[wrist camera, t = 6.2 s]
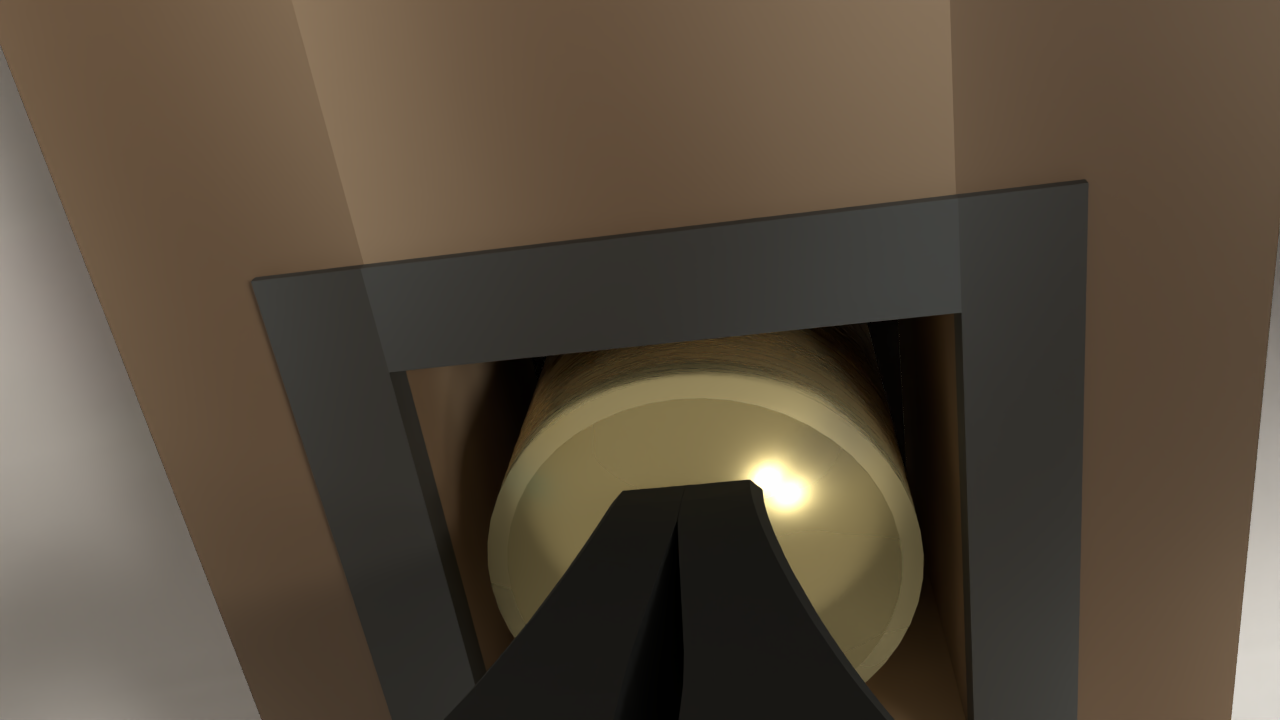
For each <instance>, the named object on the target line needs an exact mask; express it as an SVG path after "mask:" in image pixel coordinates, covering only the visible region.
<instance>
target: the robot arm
mask: <svg viewBox="0 0 1280 720" xmlns="http://www.w3.org/2000/svg"><path fill="white" fill-rule="evenodd" d="M443 720H894V718H893V717H892V716H891V715H890V714H889V712H888V711H887V710H886V709H885V708H884V706H883V705H882V704H881V703H880V701H879V700H878V699H877V698H876V696H875V695H874V694H873V693H872V691H871V690H870V689H869V687H868V686H867V685H866V683H865V682H864V681H863V679H862V678H861V677H860V675H859V674H858V673H857V671H856V670H855V669H854V667H853V666H852V664H851V663H850V662H849V660H848V659H847V657H846V656H845V654H844V653H843V652H842V650H841V649H840V647H839V646H838V644H837V643H836V642H835V640H834V639H833V637H832V636H831V634H830V633H829V631H828V630H827V628H826V626H825V625H824V623H823V622H822V620H821V619H820V617H819V616H818V614H817V612H816V611H815V609H814V607H813V606H812V604H811V602H810V600H809V599H808V597H807V595H806V593H805V592H804V590H803V588H802V586H801V585H800V583H799V581H798V579H797V578H796V576H795V574H794V573H793V571H792V569H791V567H790V565H789V563H788V561H787V559H786V557H785V555H784V553H783V551H782V548H781V546H780V544H779V542H778V539H777V537H776V535H775V533H774V530H773V528H772V525H771V522H770V520H769V517H768V514H767V511H766V507H765V503H764V496H763V489H762V488H760V487H759V486H758V485H757V484H755V483H754V482H753V481H751V480H750V479H748V480H737V481H726V482H715V483H705V484H694V485H686V486H685V485H682V486H671V487H659V488H648V489H637V490H624V491H622V492H621V493H620V494H619V495H618V497H617V498H616V499H615V500H614V501H613V502H612V504H611V505H610V507H609V508H608V510H607V511H606V513H605V515H604V516H603V518H602V519H601V521H600V522H599V524H598V525H597V527H596V528H595V530H594V531H593V533H592V534H591V536H590V537H589V539H588V540H587V542H586V543H585V545H584V546H583V547H582V549H581V550H580V552H579V553H578V555H577V556H576V558H575V559H574V560H573V562H572V563H571V565H570V566H569V568H568V569H567V570H566V572H565V573H564V575H563V576H562V577H561V579H560V580H559V581H558V583H557V584H556V585H555V587H554V588H553V589H552V591H551V592H550V593H549V595H548V596H547V597H546V599H545V600H544V601H543V603H542V604H541V605H540V607H539V608H538V610H537V611H536V612H535V614H534V615H533V616H532V618H531V619H530V620H529V621H528V623H527V624H526V625H525V626H524V628H523V629H522V630H521V632H520V633H519V634H518V635H517V636H516V637H515V639H514V640H513V641H512V642H511V643H510V645H509V646H508V647H507V648H506V649H505V651H504V652H503V653H502V654H501V655H500V656H499V658H498V659H497V660H496V661H495V662H494V664H493V665H492V666H491V667H490V668H489V669H488V671H487V672H486V673H485V674H484V675H483V677H482V678H481V679H480V680H479V681H478V682H477V684H476V685H475V686H474V687H473V688H472V689H471V690H470V691H469V693H468V694H467V695H466V696H465V697H464V698H463V699H462V700H461V701H460V702H459V703H458V704H457V705H456V707H455V708H454V709H453V710H452V711H451V712H450V713H449V714H448V715H447V716H446V717H445V718H444V719H443Z"/></svg>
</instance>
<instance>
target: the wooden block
mask: <svg viewBox="0 0 1280 720" xmlns="http://www.w3.org/2000/svg"><path fill="white" fill-rule="evenodd" d="M0 45H1V47H2V50H3V53H4V55H5V58H6V60H7V63H8V66H9V68H10V71H11V73H12V76H13V78H14V81H15V84H16V86H17V89H18V91H19V94H20V97H21V99H22V102H23V104H24V107H25V109H26V112H27V115H28V117H29V120H30V122H31V125H32V128H33V130H34V133H35V135H36V138H37V140H38V143H39V146H40V148H41V151H42V153H43V156H44V159H45V161H46V164H47V166H48V169H49V171H50V174H51V177H52V179H53V182H54V184H55V187H56V190H57V192H58V195H59V197H60V200H61V202H62V205H63V208H64V210H65V213H66V215H67V218H68V221H69V223H70V226H71V228H72V231H73V233H74V236H75V239H76V241H77V244H78V246H79V249H80V252H81V254H82V257H83V259H84V262H85V264H86V267H87V270H88V272H89V275H90V277H91V280H92V283H93V285H94V288H95V290H96V293H97V295H98V298H99V301H100V303H101V306H102V308H103V311H104V314H105V316H106V319H107V321H108V324H109V326H110V329H111V332H112V334H113V337H114V339H115V342H116V345H117V347H118V350H119V352H120V355H121V357H122V360H123V363H124V365H125V368H126V370H127V373H128V376H129V378H130V381H131V383H132V386H133V388H134V391H135V394H136V396H137V399H138V401H139V404H140V407H141V409H142V412H143V414H144V417H145V419H146V422H147V425H148V427H149V430H150V432H151V435H152V438H153V440H154V443H155V445H156V448H157V450H158V453H159V456H160V458H161V461H162V463H163V466H164V469H165V471H166V474H167V476H168V479H169V481H170V484H171V487H172V489H173V492H174V494H175V497H176V500H177V502H178V505H179V507H180V510H181V512H182V515H183V518H184V520H185V523H186V525H187V528H188V531H189V533H190V536H191V538H192V541H193V543H194V546H195V549H196V551H197V554H198V556H199V559H200V562H201V564H202V567H203V569H204V572H205V574H206V577H207V580H208V582H209V585H210V587H211V590H212V593H213V595H214V598H215V600H216V603H217V605H218V608H219V611H220V613H221V616H222V618H223V621H224V624H225V626H226V629H227V631H228V634H229V636H230V639H231V642H232V644H233V647H234V649H235V652H236V655H237V657H238V660H239V662H240V665H241V667H242V670H243V673H244V675H245V678H246V680H247V683H248V686H249V688H250V691H251V693H252V696H253V698H254V701H255V704H256V706H257V709H258V711H259V714H260V717H261V719H262V720H443V719H444V718H445V717H446V716H447V715H448V714H449V713H450V712H451V711H452V710H453V709H454V708H455V707H456V705H457V704H458V703H459V702H460V701H461V700H462V699H463V698H464V697H465V696H466V695H467V694H468V693H469V691H470V690H471V689H472V688H473V687H474V686H475V685H476V684H477V682H478V681H479V680H480V679H481V678H482V677H483V675H484V674H485V673H486V672H487V671H488V669H489V668H490V667H491V666H492V665H493V664H494V662H495V661H496V660H497V659H498V658H499V656H500V655H501V654H502V653H503V652H504V651H505V649H506V648H507V647H508V646H509V645H510V643H511V642H512V641H513V640H514V639H515V638H514V636H513V635H512V633H511V632H510V630H509V628H508V626H507V624H506V622H505V620H504V618H503V616H502V614H501V612H500V610H499V608H498V605H497V602H496V599H495V596H494V593H493V590H492V586H491V580H490V575H489V569H488V544H487V542H488V535H489V528H490V521H491V517H492V514H493V510H494V507H495V504H496V501H497V497H498V494H499V492H500V489H501V486H502V483H503V480H504V477H505V474H506V471H507V469H508V466H509V463H510V460H511V457H512V454H513V451H514V448H515V446H516V443H517V440H518V437H519V434H520V431H521V428H522V425H523V423H524V420H525V417H526V414H527V411H528V408H529V405H530V403H531V400H532V397H533V394H534V391H535V388H536V385H537V378H536V374H535V369H534V364H533V360H532V357H541V356H550V355H560V354H569V353H579V352H589V351H598V350H608V349H617V348H627V347H637V346H646V345H656V344H665V343H675V342H684V341H694V340H704V339H713V338H723V337H732V336H742V335H751V334H761V333H771V332H780V331H790V330H799V329H809V328H819V327H828V326H838V325H847V324H857V323H866V322H876V321H886V320H895V319H898V334H899V351H900V369H901V386H902V404H903V421H904V438H905V456H906V473H907V480H908V484H909V488H910V492H911V496H912V500H913V504H914V508H915V511H916V515H917V519H918V523H919V527H920V531H921V538H922V546H923V553H924V562H923V581H922V586H921V592H920V597H919V602H918V605H917V607H916V610H915V613H914V616H913V618H912V621H911V624H910V626H909V627H908V629H907V631H906V633H905V635H904V637H903V638H902V640H901V642H900V644H899V645H898V647H897V648H896V649H895V651H894V652H893V653H892V655H891V656H890V657H889V659H888V660H887V661H886V663H885V664H884V665H883V666H882V667H881V668H880V669H879V670H878V671H877V672H876V673H875V674H874V675H873V676H872V677H871V678H870V679H869V680H868V681H867V682H865V683H866V685H867V686H868V687H869V689H870V690H871V691H872V693H873V694H874V695H875V696H876V698H877V699H878V700H879V701H880V703H881V704H882V705H883V706H884V708H885V709H886V710H887V711H888V712H889V714H890V715H891V716H892V717H893V718H894V720H1231V715H1232V704H1233V694H1234V684H1235V674H1236V664H1237V653H1238V643H1239V633H1240V623H1241V613H1242V602H1243V592H1244V582H1245V572H1246V562H1247V551H1248V541H1249V531H1250V521H1251V511H1252V500H1253V490H1254V480H1255V470H1256V460H1257V449H1258V439H1259V429H1260V419H1261V408H1262V398H1263V388H1264V378H1265V368H1266V357H1267V347H1268V337H1269V327H1270V317H1271V306H1272V296H1273V286H1274V276H1275V266H1276V255H1277V245H1278V235H1279V225H1280V0H0Z"/></svg>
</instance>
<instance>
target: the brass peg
mask: <svg viewBox="0 0 1280 720" xmlns="http://www.w3.org/2000/svg"><path fill="white" fill-rule="evenodd" d="M748 479H750V480H751V481H753V482H754V483H755V484H757V485H758V486H759V487H760V488H762V489H763V496H764V503H765V507H766V511H767V514H768V517H769V520H770V522H771V525H772V528H773V530H774V533H775V535H776V537H777V539H778V542H779V544H780V546H781V548H782V551H783V553H784V555H785V557H786V559H787V561H788V563H789V565H790V567H791V569H792V571H793V573H794V574H795V576H796V578H797V579H798V581H799V583H800V585H801V586H802V588H803V590H804V592H805V593H806V595H807V597H808V599H809V600H810V602H811V604H812V606H813V607H814V609H815V611H816V612H817V614H818V616H819V617H820V619H821V620H822V622H823V623H824V625H825V626H826V628H827V630H828V631H829V633H830V634H831V636H832V637H833V639H834V640H835V642H836V643H837V644H838V646H839V647H840V649H841V650H842V652H843V653H844V654H845V656H846V657H847V659H848V660H849V662H850V663H851V664H852V666H853V667H854V669H855V670H856V671H857V673H858V674H859V675H860V677H861V678H862V679H863V681H864V682H867V681H868V680H869V679H870V678H871V677H872V676H873V675H874V674H875V673H876V672H877V671H878V670H879V669H880V668H881V667H882V666H883V665H884V664H885V663H886V661H887V660H888V659H889V657H890V656H891V655H892V653H893V652H894V651H895V649H896V648H897V647H898V645H899V644H900V642H901V640H902V638H903V637H904V635H905V633H906V631H907V629H908V627H909V626H910V624H911V621H912V618H913V616H914V613H915V610H916V607H917V605H918V602H919V597H920V592H921V586H922V581H923V562H924V553H923V546H922V538H921V531H920V527H919V523H918V519H917V515H916V511H915V508H914V504H913V500H912V496H911V492H910V488H909V484H908V480H907V476H906V472H905V468H904V464H903V460H902V457H901V453H900V449H899V445H898V441H897V437H896V433H895V429H894V425H893V421H892V417H891V413H890V410H889V406H888V402H887V398H886V394H885V390H884V386H883V382H882V378H881V374H880V370H879V366H878V363H877V359H876V355H875V351H874V347H873V343H872V339H871V335H870V331H869V328H868V324H867V322H866V323H857V324H847V325H838V326H828V327H819V328H809V329H799V330H790V331H780V332H771V333H761V334H751V335H742V336H732V337H723V338H713V339H704V340H694V341H684V342H675V343H665V344H656V345H646V346H637V347H627V348H617V349H608V350H598V351H589V352H579V353H569V354H560V355H550V356H547V357H546V359H545V362H544V365H543V368H542V371H541V374H540V377H539V380H538V382H537V385H536V388H535V391H534V394H533V397H532V400H531V403H530V405H529V408H528V411H527V414H526V417H525V420H524V423H523V425H522V428H521V431H520V434H519V437H518V440H517V443H516V446H515V448H514V451H513V454H512V457H511V460H510V463H509V466H508V469H507V471H506V474H505V477H504V480H503V483H502V486H501V489H500V492H499V494H498V497H497V501H496V504H495V507H494V510H493V514H492V517H491V521H490V528H489V535H488V542H487V544H488V569H489V575H490V580H491V586H492V590H493V593H494V596H495V599H496V602H497V605H498V608H499V610H500V612H501V614H502V616H503V618H504V620H505V622H506V624H507V626H508V628H509V630H510V632H511V633H512V635H513V636H514V638H515V637H516V636H517V635H518V634H519V633H520V632H521V630H522V629H523V628H524V626H525V625H526V624H527V623H528V621H529V620H530V619H531V618H532V616H533V615H534V614H535V612H536V611H537V610H538V608H539V607H540V605H541V604H542V603H543V601H544V600H545V599H546V597H547V596H548V595H549V593H550V592H551V591H552V589H553V588H554V587H555V585H556V584H557V583H558V581H559V580H560V579H561V577H562V576H563V575H564V573H565V572H566V570H567V569H568V568H569V566H570V565H571V563H572V562H573V560H574V559H575V558H576V556H577V555H578V553H579V552H580V550H581V549H582V547H583V546H584V545H585V543H586V542H587V540H588V539H589V537H590V536H591V534H592V533H593V531H594V530H595V528H596V527H597V525H598V524H599V522H600V521H601V519H602V518H603V516H604V515H605V513H606V511H607V510H608V508H609V507H610V505H611V504H612V502H613V501H614V500H615V499H616V498H617V497H618V495H619V494H620V493H621V492H622V491H624V490H637V489H648V488H659V487H671V486H682V485H685V486H686V485H694V484H705V483H715V482H726V481H737V480H748Z"/></svg>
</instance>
